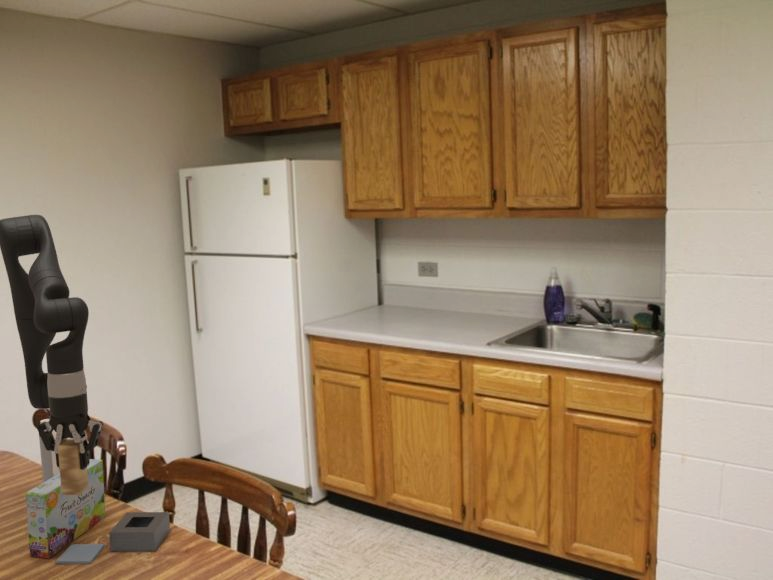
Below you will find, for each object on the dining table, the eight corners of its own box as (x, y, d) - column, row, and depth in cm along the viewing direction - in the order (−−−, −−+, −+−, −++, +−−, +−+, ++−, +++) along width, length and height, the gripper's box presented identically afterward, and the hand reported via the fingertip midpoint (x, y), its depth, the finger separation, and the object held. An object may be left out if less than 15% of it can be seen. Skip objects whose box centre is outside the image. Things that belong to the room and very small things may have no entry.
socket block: (128, 530, 169) (126, 512, 168) (170, 530, 168) (168, 512, 168) (110, 551, 159) (109, 532, 158) (155, 551, 158) (154, 532, 158)
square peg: (61, 495, 153) (57, 445, 152) (70, 487, 157) (66, 439, 156) (80, 494, 153) (76, 445, 152) (88, 487, 157) (84, 439, 156)
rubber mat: (72, 546, 161) (71, 544, 161) (104, 546, 161) (104, 544, 161) (56, 563, 154) (55, 561, 154) (90, 563, 154) (90, 561, 153)
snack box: (51, 559, 156) (45, 494, 154) (28, 557, 157) (22, 492, 155) (107, 516, 176) (103, 458, 174) (87, 515, 177) (82, 456, 175)
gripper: (25, 396, 149) (32, 475, 151) (92, 395, 148) (98, 474, 151) (43, 386, 156) (49, 462, 159) (107, 386, 156) (113, 461, 158)
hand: (73, 467), depth 155 cm, fingers closed on square peg, 4 cm apart
